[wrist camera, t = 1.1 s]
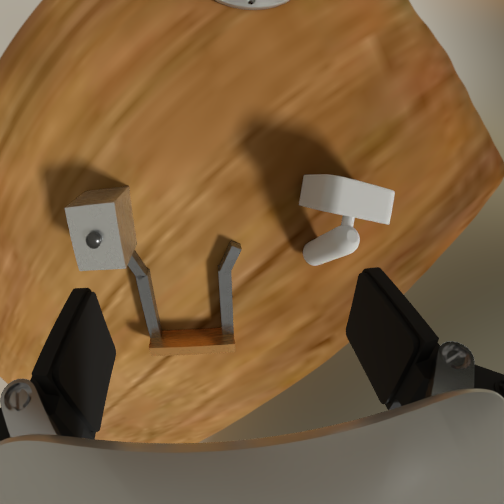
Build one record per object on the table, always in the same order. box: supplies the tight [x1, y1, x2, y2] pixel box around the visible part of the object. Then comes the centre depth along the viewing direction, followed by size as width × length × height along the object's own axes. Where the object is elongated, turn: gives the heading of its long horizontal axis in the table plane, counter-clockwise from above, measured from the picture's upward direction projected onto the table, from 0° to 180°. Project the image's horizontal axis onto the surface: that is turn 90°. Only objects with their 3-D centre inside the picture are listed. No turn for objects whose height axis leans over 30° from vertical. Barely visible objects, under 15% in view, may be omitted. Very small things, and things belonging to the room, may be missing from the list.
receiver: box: [128, 241, 242, 356], centre depth 36 cm, size 15×14×4 cm
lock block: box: [65, 186, 137, 271], centre depth 29 cm, size 7×6×7 cm
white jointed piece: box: [299, 174, 395, 266], centre depth 32 cm, size 8×10×10 cm
